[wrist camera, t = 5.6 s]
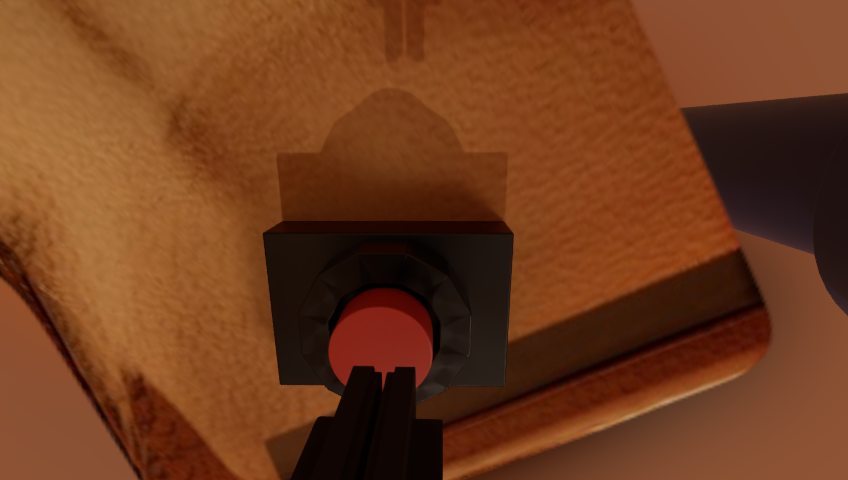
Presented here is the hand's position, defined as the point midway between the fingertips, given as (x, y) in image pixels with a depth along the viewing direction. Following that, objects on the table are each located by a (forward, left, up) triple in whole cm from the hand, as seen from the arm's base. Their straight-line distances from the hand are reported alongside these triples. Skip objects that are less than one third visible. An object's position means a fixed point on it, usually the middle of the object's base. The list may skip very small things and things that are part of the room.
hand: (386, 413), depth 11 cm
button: (+1, 0, -5) cm, 5 cm away
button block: (+1, 0, -8) cm, 8 cm away
